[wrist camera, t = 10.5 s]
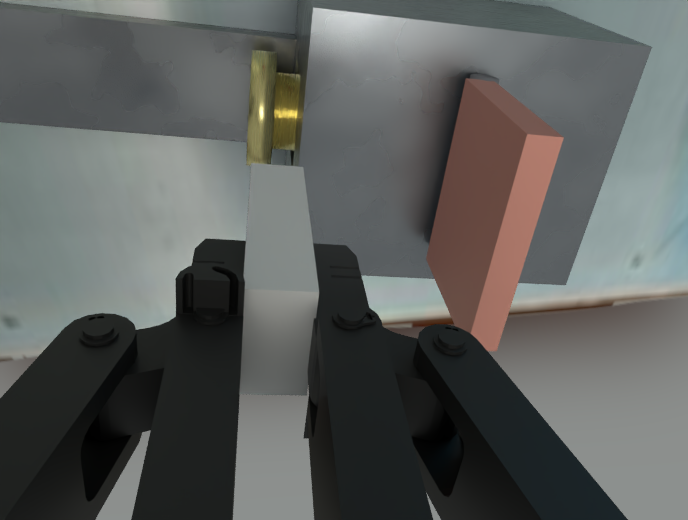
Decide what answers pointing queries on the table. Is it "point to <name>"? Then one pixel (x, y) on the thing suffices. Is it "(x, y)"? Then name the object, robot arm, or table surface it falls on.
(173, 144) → the table surface
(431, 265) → the salmon pink slab
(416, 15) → the block
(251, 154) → the lynch pin
